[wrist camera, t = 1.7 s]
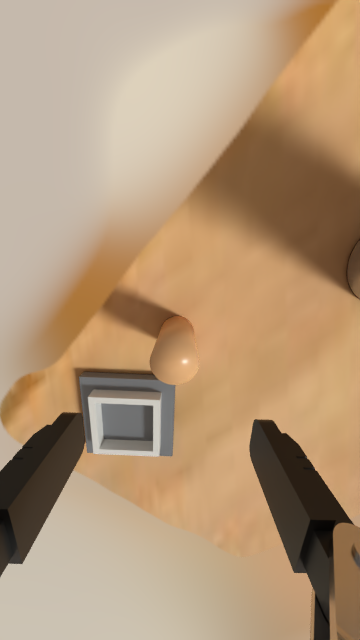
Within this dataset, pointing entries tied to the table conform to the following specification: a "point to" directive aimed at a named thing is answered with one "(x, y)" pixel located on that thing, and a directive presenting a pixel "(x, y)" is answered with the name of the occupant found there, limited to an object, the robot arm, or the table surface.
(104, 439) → the housing
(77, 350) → the table surface
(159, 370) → the brown peg
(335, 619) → the robot arm
